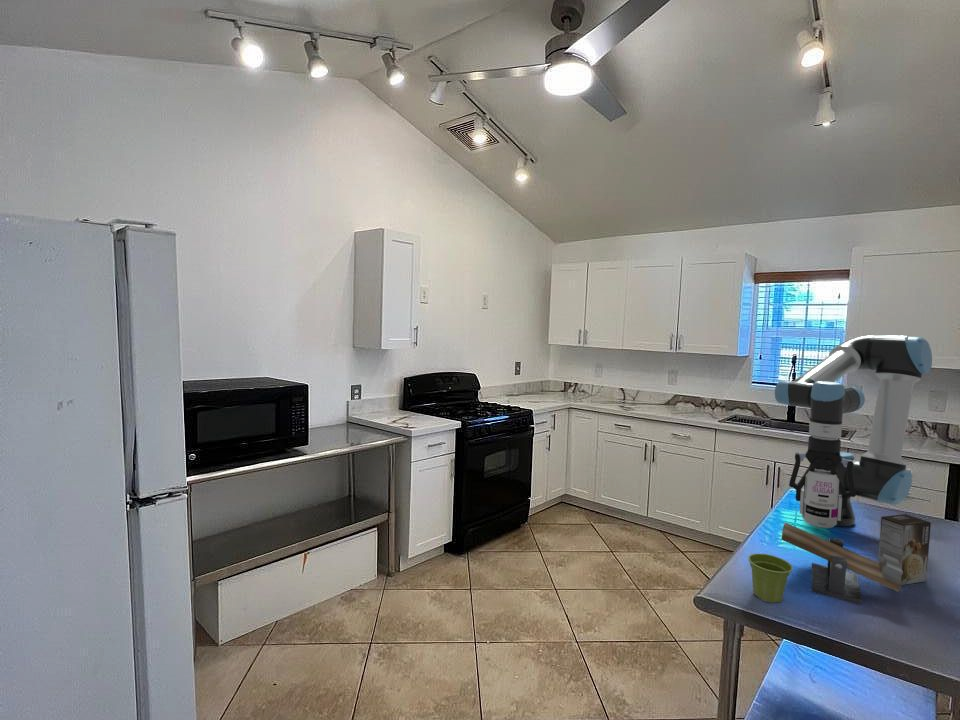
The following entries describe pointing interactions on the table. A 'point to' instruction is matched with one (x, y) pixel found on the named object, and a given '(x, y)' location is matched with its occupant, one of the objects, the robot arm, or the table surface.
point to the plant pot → (769, 576)
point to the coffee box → (906, 545)
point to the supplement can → (821, 498)
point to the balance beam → (881, 572)
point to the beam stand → (836, 579)
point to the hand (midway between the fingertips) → (819, 515)
